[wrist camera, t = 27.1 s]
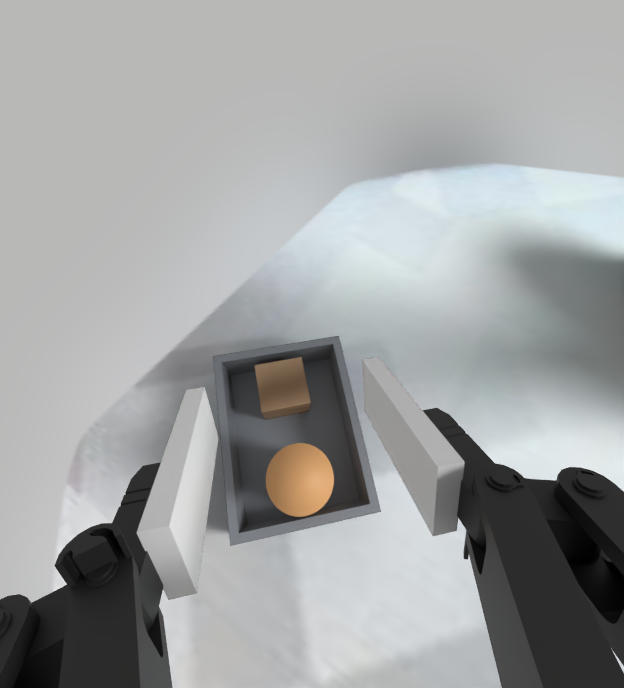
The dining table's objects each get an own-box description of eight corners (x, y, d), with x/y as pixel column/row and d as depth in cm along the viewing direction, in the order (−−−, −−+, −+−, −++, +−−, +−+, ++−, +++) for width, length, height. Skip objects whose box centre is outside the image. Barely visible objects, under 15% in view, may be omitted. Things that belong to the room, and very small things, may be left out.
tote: (224, 372, 40) (213, 356, 34) (332, 354, 42) (338, 335, 36) (241, 533, 34) (230, 545, 28) (367, 505, 35) (380, 511, 30)
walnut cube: (259, 377, 39) (254, 365, 34) (300, 370, 40) (301, 356, 35) (265, 419, 37) (261, 412, 33) (308, 411, 38) (310, 402, 33)
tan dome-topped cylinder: (287, 444, 36) (284, 432, 25) (329, 464, 36) (344, 460, 25) (267, 489, 35) (253, 497, 23) (310, 510, 34) (317, 529, 23)
